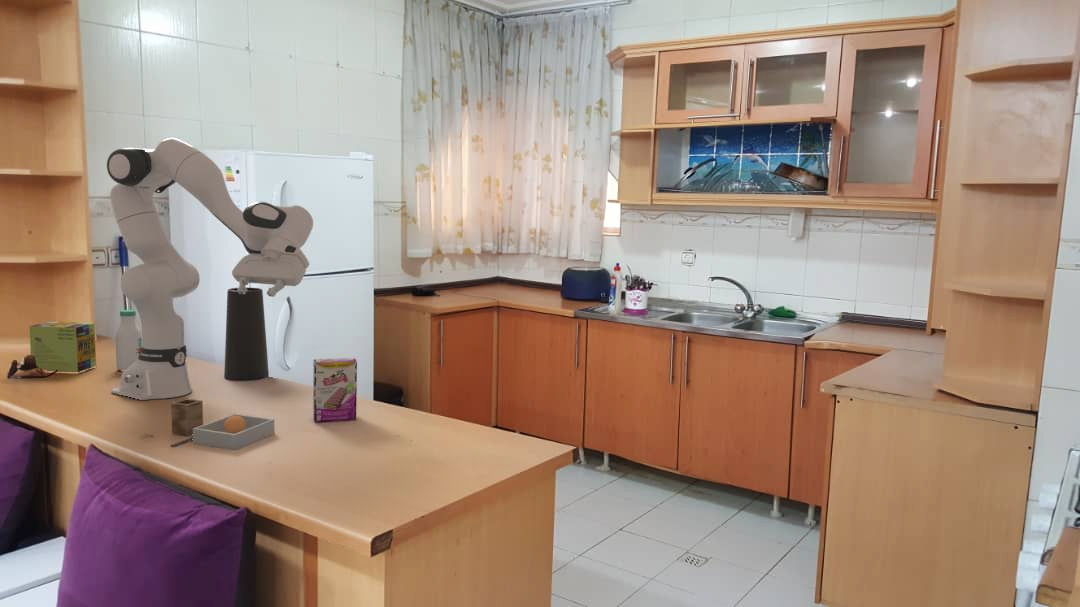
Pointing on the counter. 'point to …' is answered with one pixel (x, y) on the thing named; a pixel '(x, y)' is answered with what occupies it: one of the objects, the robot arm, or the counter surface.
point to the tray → (219, 438)
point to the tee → (186, 416)
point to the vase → (245, 336)
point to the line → (182, 442)
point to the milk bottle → (127, 340)
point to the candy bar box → (334, 389)
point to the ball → (234, 425)
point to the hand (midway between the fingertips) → (255, 293)
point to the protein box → (63, 346)
